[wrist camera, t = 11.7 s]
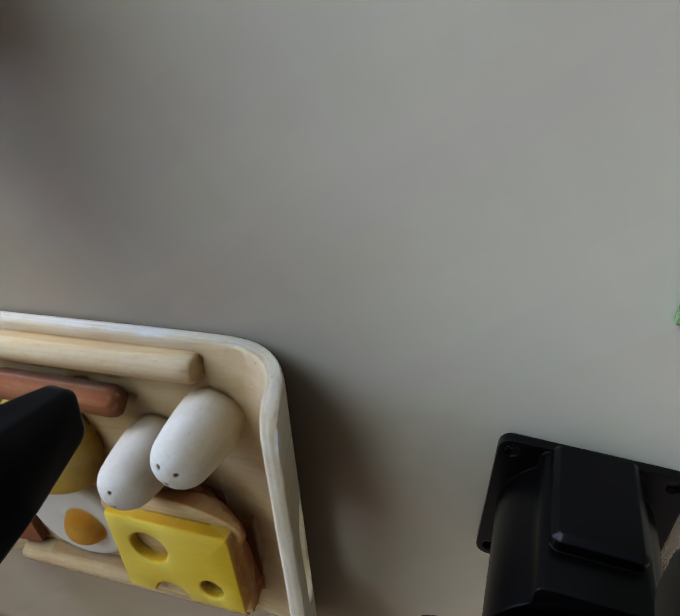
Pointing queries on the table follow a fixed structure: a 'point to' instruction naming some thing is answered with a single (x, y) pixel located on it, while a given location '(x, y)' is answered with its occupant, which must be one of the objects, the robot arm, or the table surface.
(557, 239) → the table surface
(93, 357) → the toy food set
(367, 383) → the table surface
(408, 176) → the table surface
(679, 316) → the cloth
